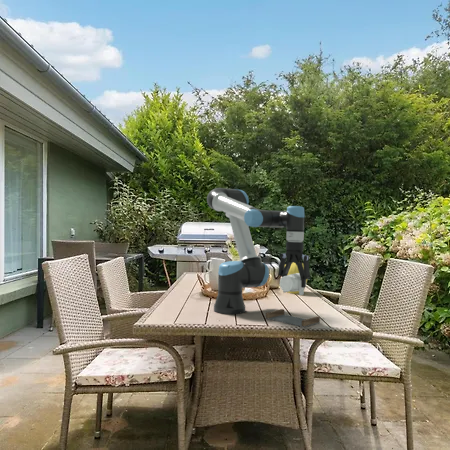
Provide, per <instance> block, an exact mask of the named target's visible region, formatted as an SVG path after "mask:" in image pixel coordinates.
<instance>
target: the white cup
mask: <svg viewBox="0 0 450 450" xmlns="http://www.w3.org/2000/svg"><path fill="white" fill-rule="evenodd" d="M300 279H301V277H300V274H299V273H296V274H291V275H287V276H283V277H282V276H281V277H280V280H279V287H280V288H281V290H282V292H283V291H285V293H287V292H294V291H299V280H300ZM304 288H306V286H305V287H304Z"/></svg>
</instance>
